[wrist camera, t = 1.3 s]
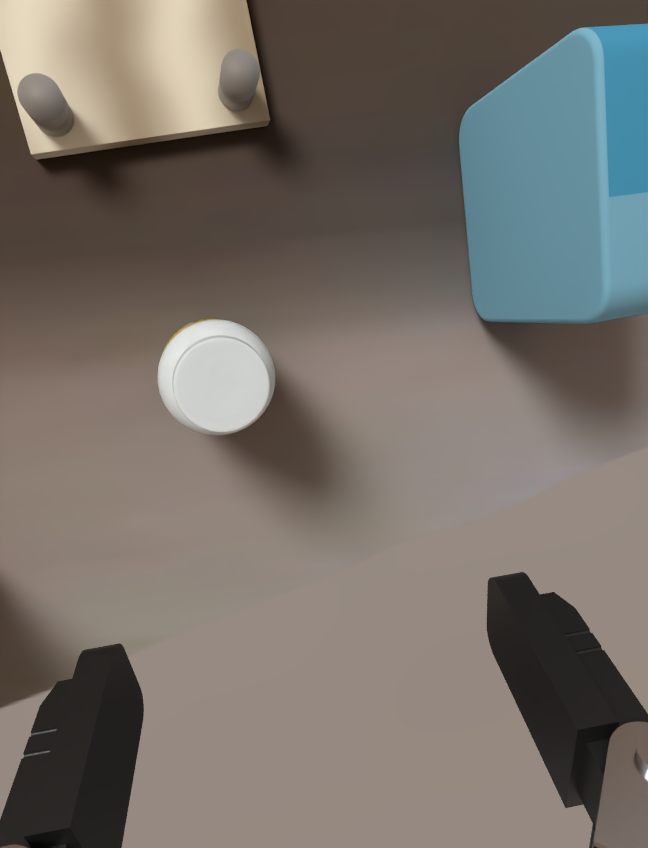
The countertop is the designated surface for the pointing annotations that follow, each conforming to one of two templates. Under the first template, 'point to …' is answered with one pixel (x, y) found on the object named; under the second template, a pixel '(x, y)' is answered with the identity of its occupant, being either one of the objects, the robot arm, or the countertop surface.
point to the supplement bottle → (216, 377)
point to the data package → (562, 183)
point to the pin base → (129, 71)
